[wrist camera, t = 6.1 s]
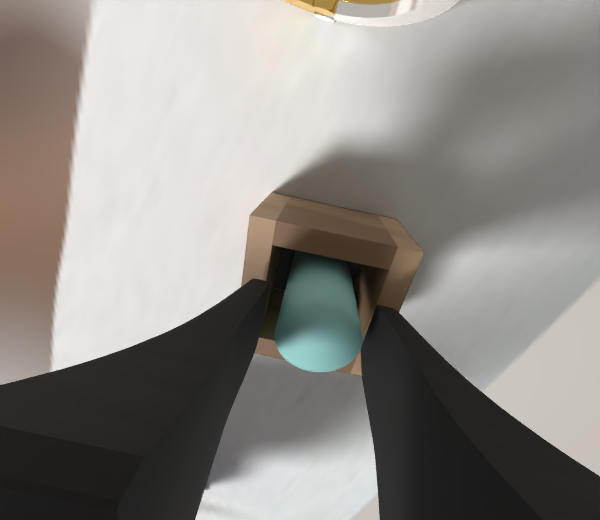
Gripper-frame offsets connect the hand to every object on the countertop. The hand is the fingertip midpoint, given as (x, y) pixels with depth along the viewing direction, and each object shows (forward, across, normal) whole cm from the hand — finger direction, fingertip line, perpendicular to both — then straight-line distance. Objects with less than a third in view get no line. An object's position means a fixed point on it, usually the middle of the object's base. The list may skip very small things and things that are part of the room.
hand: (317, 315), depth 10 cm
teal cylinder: (+5, 0, 0) cm, 5 cm away
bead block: (+5, 0, 0) cm, 5 cm away
